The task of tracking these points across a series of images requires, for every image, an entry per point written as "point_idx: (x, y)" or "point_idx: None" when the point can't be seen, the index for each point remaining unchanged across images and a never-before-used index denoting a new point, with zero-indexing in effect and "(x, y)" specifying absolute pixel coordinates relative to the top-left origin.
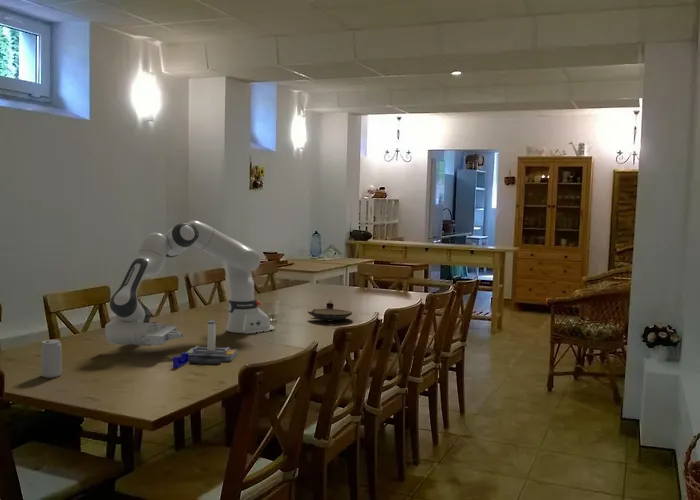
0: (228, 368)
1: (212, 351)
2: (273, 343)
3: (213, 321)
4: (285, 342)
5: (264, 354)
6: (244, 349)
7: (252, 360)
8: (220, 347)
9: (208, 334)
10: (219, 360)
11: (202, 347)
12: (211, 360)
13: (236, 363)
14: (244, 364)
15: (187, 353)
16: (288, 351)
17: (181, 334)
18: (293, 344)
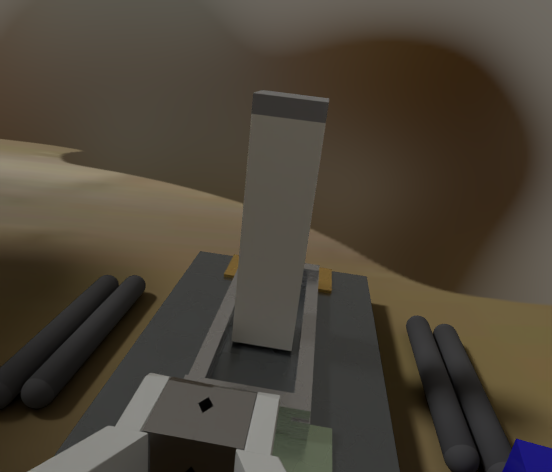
0: (488, 313)
1: (315, 319)
2: (28, 196)
3: (301, 95)
4: (33, 181)
5: (217, 226)
6: (100, 254)
7: (319, 253)
8: (84, 305)
9: (310, 216)
10: (425, 320)
11: (200, 362)
12: (438, 350)
13: (385, 289)
14: (392, 272)
15: (528, 446)
16: (181, 193)
17: (243, 393)
18: (79, 177)
